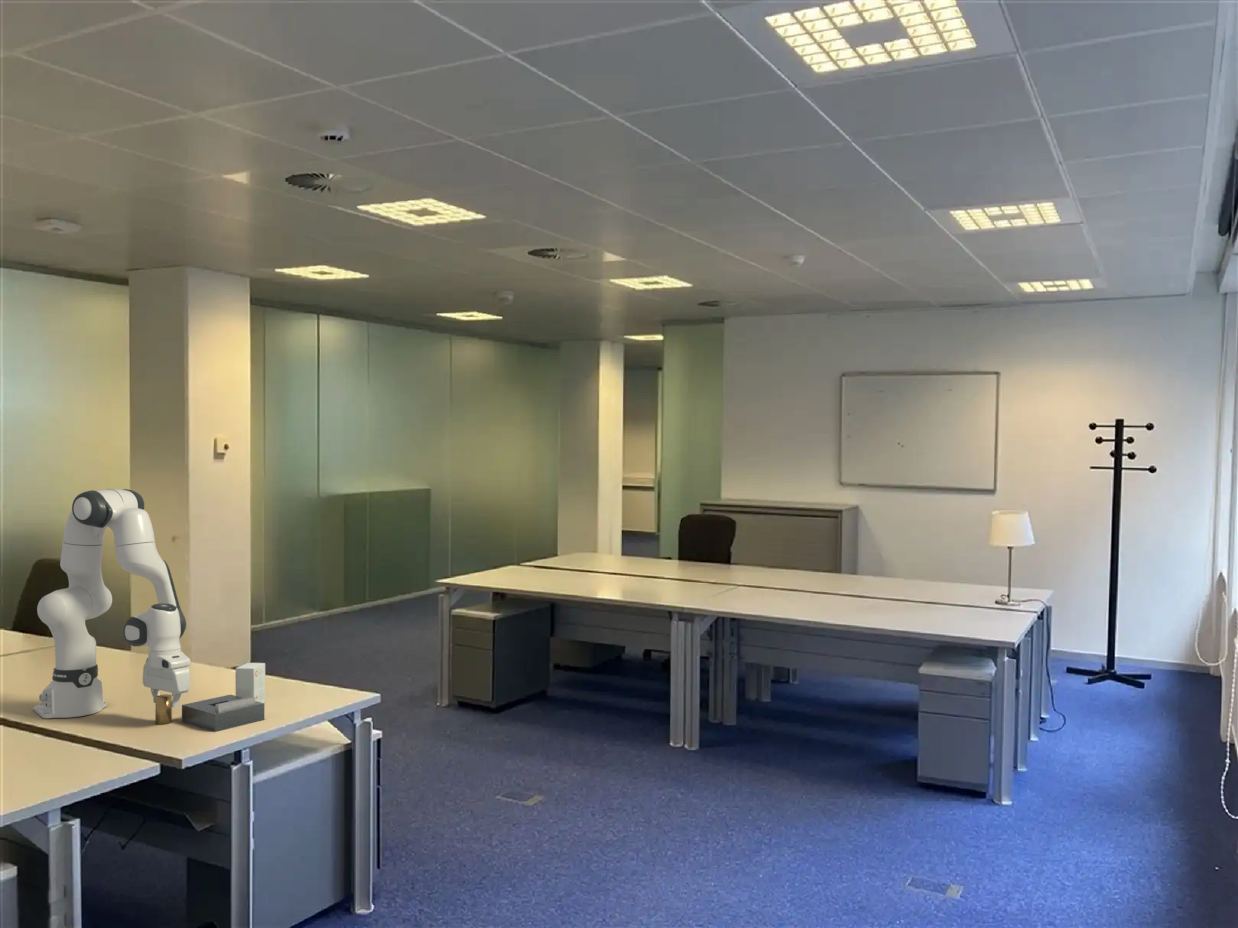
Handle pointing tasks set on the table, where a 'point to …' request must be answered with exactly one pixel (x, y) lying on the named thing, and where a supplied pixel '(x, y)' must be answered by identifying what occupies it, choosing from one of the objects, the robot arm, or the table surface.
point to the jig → (223, 712)
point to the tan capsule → (163, 709)
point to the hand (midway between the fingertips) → (166, 704)
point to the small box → (251, 681)
